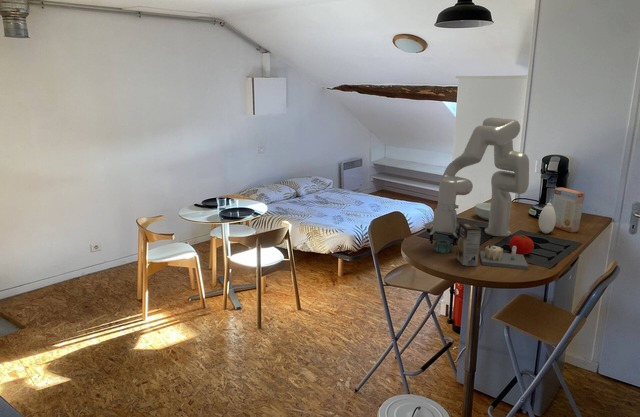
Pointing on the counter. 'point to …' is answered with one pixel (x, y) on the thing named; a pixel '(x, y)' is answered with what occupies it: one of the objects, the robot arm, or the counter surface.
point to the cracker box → (568, 208)
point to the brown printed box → (468, 244)
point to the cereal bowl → (483, 210)
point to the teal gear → (442, 246)
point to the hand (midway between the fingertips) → (442, 243)
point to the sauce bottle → (547, 218)
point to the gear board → (502, 258)
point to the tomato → (522, 244)
